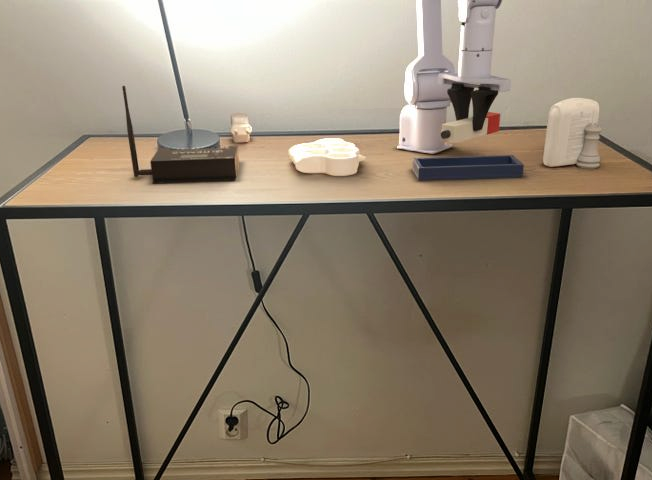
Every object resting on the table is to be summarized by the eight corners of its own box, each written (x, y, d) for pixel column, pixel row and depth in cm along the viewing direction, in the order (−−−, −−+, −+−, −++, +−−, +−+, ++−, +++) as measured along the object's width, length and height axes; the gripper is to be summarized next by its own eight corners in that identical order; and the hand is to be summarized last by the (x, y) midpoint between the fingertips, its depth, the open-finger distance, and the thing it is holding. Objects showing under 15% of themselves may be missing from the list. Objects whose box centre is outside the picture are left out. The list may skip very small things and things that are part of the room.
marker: (450, 144, 129) (451, 125, 127) (435, 142, 131) (436, 123, 129) (498, 131, 138) (500, 113, 136) (484, 129, 140) (486, 111, 138)
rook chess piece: (602, 165, 141) (610, 123, 137) (595, 170, 138) (602, 127, 134) (580, 162, 143) (586, 120, 139) (572, 167, 140) (578, 125, 136)
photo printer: (580, 158, 146) (589, 94, 140) (595, 162, 143) (605, 97, 137) (538, 164, 143) (546, 98, 137) (552, 169, 139) (561, 102, 133)
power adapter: (254, 148, 161) (252, 120, 158) (232, 149, 160) (230, 122, 157) (250, 137, 170) (248, 111, 167) (229, 138, 170) (227, 112, 167)
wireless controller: (239, 162, 149) (232, 74, 141) (235, 181, 137) (228, 85, 129) (143, 166, 149) (130, 78, 140) (130, 184, 137) (115, 89, 128)
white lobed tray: (287, 156, 153) (354, 152, 155) (298, 179, 137) (373, 174, 139) (286, 140, 151) (354, 136, 153) (297, 161, 136) (373, 156, 138)
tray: (418, 181, 134) (418, 168, 133) (412, 170, 141) (412, 158, 140) (522, 177, 135) (524, 164, 134) (511, 167, 141) (512, 154, 140)
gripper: (524, 50, 125) (515, 130, 131) (457, 44, 134) (452, 120, 141) (500, 54, 121) (492, 137, 127) (432, 48, 130) (428, 125, 137)
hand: (469, 128), depth 134 cm, fingers closed on marker, 3 cm apart
